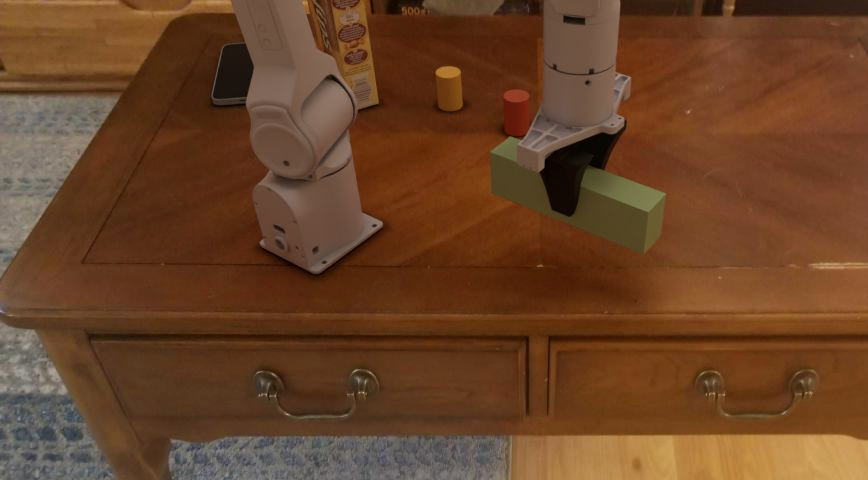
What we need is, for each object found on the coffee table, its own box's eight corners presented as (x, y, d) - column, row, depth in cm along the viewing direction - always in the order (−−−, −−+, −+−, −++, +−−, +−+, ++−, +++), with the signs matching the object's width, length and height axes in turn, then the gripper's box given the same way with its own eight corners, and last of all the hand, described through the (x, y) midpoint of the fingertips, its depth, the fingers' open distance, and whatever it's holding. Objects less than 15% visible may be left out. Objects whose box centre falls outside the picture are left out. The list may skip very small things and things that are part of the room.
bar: (491, 193, 78) (489, 151, 75) (511, 177, 80) (510, 136, 77) (643, 255, 72) (648, 212, 69) (661, 235, 74) (666, 193, 71)
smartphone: (209, 100, 102) (222, 44, 113) (211, 107, 103) (224, 50, 113) (272, 95, 103) (279, 40, 114) (274, 102, 104) (280, 46, 114)
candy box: (381, 104, 104) (364, -20, 93) (348, 114, 102) (328, -12, 91) (351, 75, 109) (332, -45, 99) (320, 84, 107) (298, -38, 97)
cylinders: (520, 139, 98) (519, 104, 95) (433, 107, 103) (430, 73, 100) (534, 128, 100) (534, 93, 97) (448, 97, 105) (446, 63, 102)
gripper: (573, 111, 59) (568, 260, 69) (668, 37, 69) (652, 177, 78) (492, 84, 62) (497, 230, 71) (594, 16, 71) (587, 153, 80)
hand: (573, 201), depth 75 cm, fingers closed on bar, 3 cm apart
